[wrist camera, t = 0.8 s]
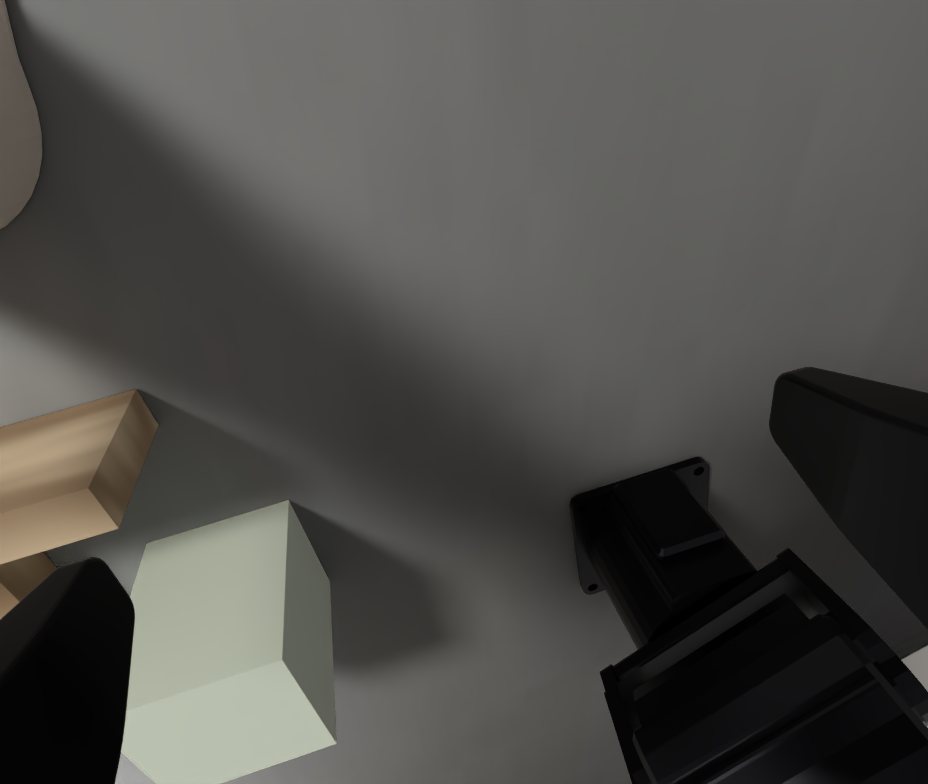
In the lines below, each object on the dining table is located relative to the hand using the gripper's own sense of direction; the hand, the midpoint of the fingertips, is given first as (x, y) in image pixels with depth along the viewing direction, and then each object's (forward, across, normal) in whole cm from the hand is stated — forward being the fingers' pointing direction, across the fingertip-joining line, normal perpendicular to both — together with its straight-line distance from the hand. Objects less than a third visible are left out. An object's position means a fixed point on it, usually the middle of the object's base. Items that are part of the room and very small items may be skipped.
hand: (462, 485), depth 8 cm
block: (+13, +8, +12) cm, 19 cm away
